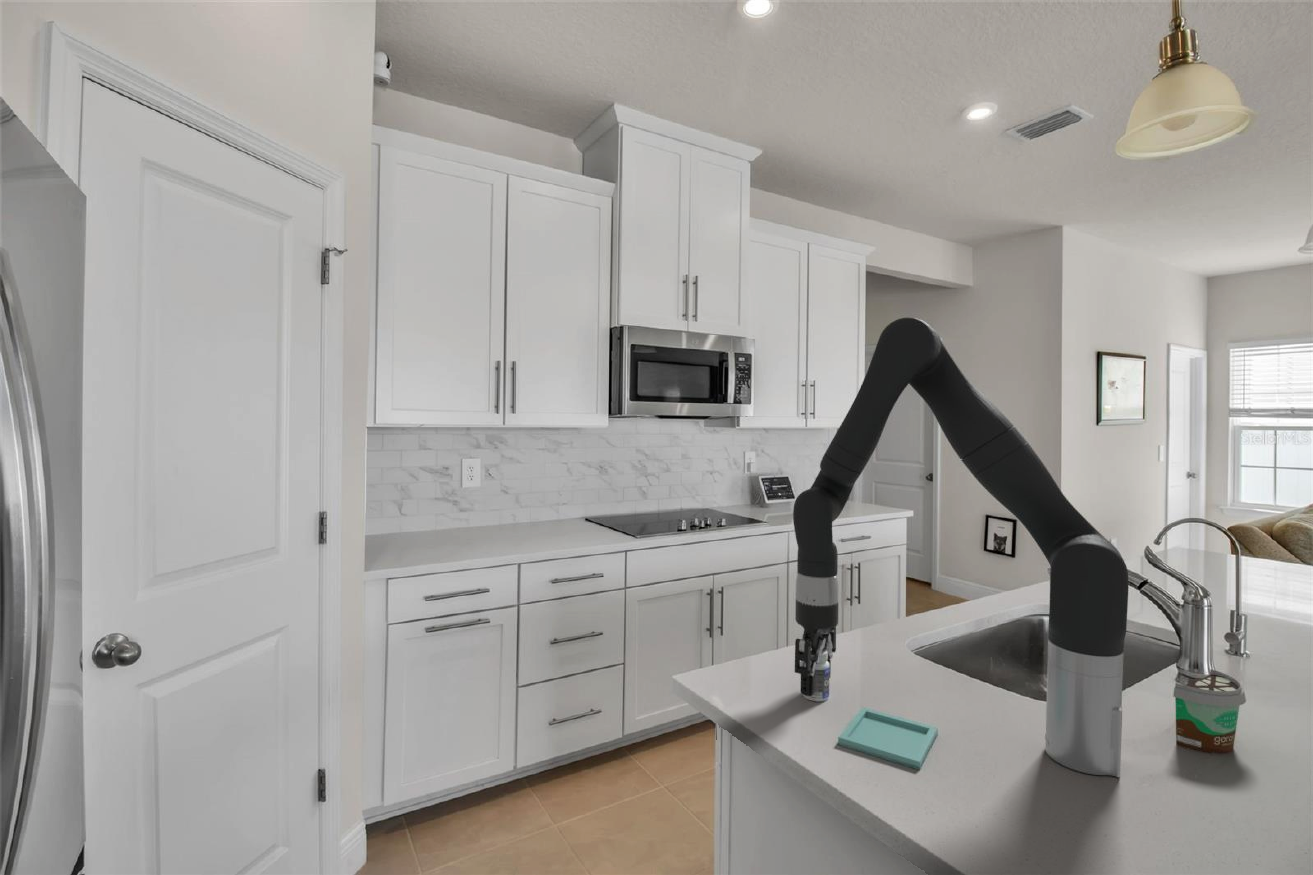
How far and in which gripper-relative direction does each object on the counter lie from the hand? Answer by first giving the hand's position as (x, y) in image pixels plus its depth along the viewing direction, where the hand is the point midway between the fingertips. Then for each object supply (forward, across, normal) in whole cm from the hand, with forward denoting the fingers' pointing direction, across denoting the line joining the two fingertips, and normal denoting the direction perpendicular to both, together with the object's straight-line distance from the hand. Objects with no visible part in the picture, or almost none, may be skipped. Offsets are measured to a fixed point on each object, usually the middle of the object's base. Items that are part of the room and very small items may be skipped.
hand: (815, 686), depth 115 cm
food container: (+2, +19, -57) cm, 60 cm away
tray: (+2, -8, -15) cm, 17 cm away
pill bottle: (+2, 0, 0) cm, 2 cm away
